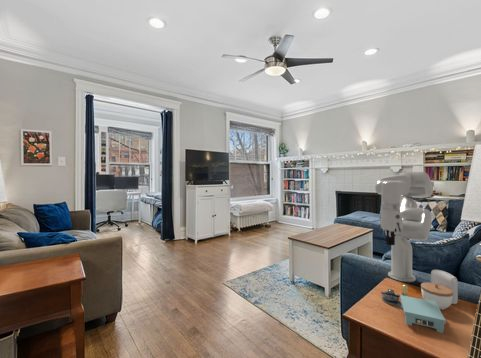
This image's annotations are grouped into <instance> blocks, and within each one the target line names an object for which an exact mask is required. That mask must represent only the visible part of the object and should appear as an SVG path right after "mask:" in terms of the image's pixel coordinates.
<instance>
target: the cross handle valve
mask: <svg viewBox="0 0 481 358" xmlns="http://www.w3.org/2000/svg"><path fill="white" fill-rule="evenodd" d="M401 288H402V289H401V294H397V293H396V292H395V290H394V289H391V288H388V289H387V291H381V292H380V294H381V299H382V298H383V299H384V300H386V301H388V302H392V303H398V302H399V301H400V295H403V296H408V292H409V291H408V285H407V284H402V285H401ZM408 297H409V296H408Z"/></svg>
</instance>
